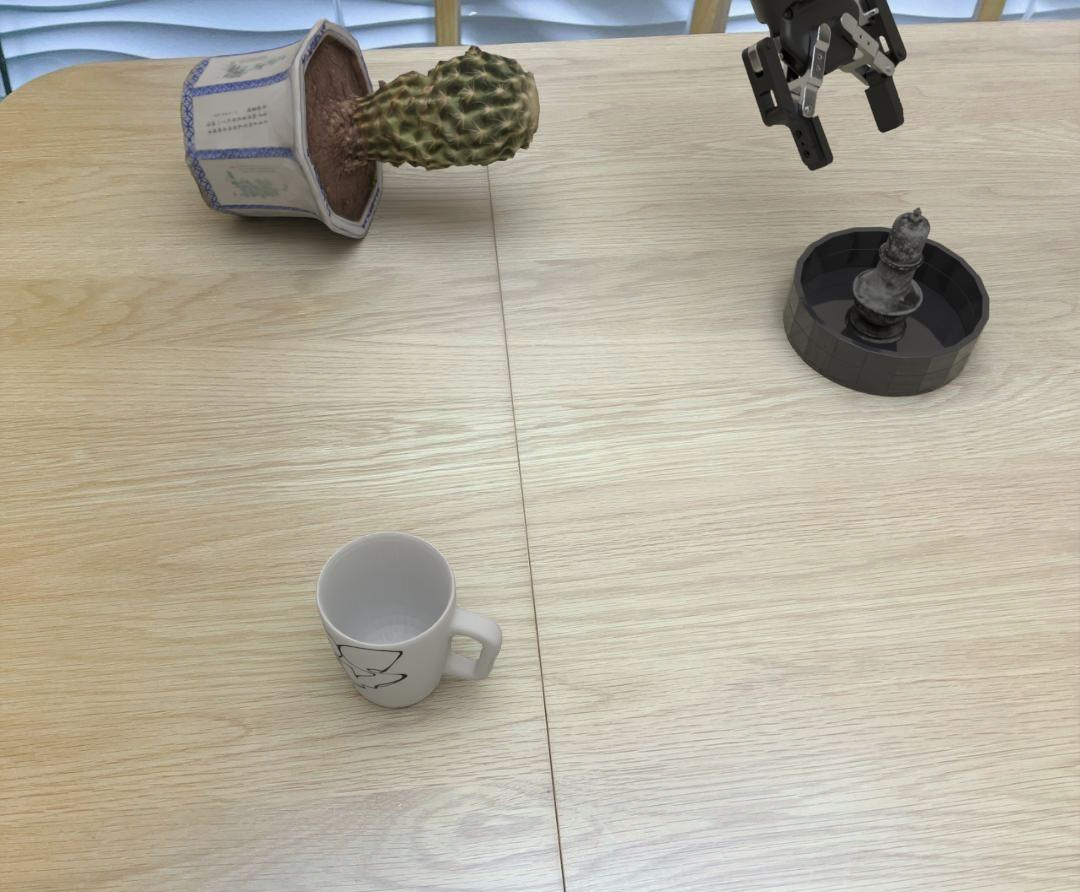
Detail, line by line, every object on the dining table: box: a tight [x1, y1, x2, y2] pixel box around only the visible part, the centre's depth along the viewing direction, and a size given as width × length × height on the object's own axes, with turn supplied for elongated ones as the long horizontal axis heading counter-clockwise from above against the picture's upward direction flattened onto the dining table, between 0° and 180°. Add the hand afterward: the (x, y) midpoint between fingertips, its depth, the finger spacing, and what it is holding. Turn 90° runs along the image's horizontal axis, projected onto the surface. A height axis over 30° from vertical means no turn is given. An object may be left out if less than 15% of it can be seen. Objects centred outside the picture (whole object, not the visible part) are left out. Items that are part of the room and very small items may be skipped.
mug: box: [315, 531, 503, 708], centre depth 70 cm, size 11×8×10 cm
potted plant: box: [179, 17, 541, 240], centre depth 95 cm, size 18×18×30 cm
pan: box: [782, 226, 991, 397], centre depth 93 cm, size 16×16×4 cm
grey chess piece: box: [845, 207, 931, 344], centre depth 90 cm, size 6×6×12 cm
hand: (858, 147), depth 87 cm, fingers open, 8 cm apart
